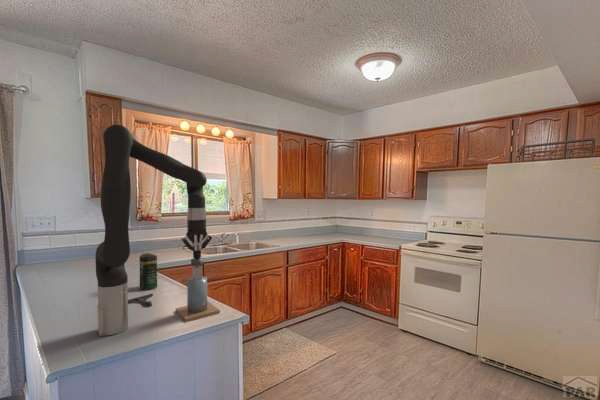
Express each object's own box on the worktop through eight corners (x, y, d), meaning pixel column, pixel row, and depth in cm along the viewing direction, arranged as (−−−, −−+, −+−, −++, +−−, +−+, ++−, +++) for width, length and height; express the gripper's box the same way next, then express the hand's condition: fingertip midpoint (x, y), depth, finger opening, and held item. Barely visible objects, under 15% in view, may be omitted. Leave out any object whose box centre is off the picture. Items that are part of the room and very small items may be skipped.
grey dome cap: (196, 280, 117) (196, 262, 117) (189, 276, 123) (189, 258, 123) (208, 278, 120) (208, 260, 120) (201, 274, 126) (200, 257, 126)
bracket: (133, 313, 124) (133, 306, 124) (119, 305, 133) (119, 299, 133) (166, 303, 135) (166, 297, 135) (151, 296, 144) (151, 291, 144)
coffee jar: (159, 288, 155) (159, 254, 155) (143, 291, 150) (143, 256, 150) (153, 284, 162) (153, 251, 162) (137, 287, 157) (137, 253, 157)
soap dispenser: (185, 322, 113) (185, 273, 113) (175, 311, 124) (175, 266, 124) (219, 312, 122) (219, 267, 122) (207, 303, 133) (207, 262, 133)
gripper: (183, 219, 115) (183, 263, 116) (215, 218, 124) (215, 258, 124) (177, 218, 121) (178, 259, 121) (208, 217, 130) (208, 255, 130)
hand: (197, 259), depth 123 cm, fingers closed
